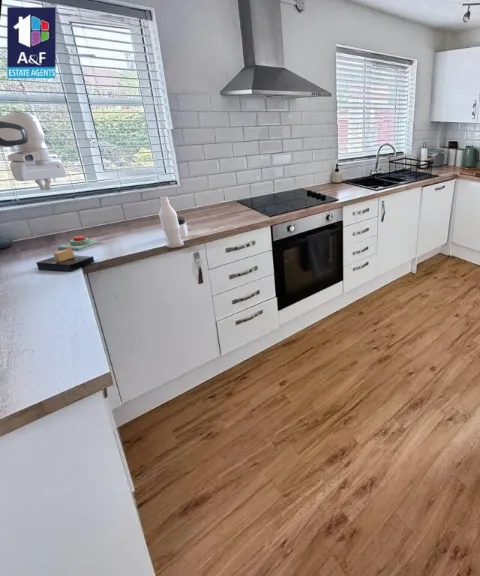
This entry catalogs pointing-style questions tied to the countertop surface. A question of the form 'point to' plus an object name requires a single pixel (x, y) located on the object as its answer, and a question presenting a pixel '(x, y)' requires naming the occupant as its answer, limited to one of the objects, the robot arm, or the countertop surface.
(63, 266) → the panel
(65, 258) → the handle
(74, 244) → the button block
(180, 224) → the jar
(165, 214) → the water bottle
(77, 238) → the button
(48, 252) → the countertop surface
